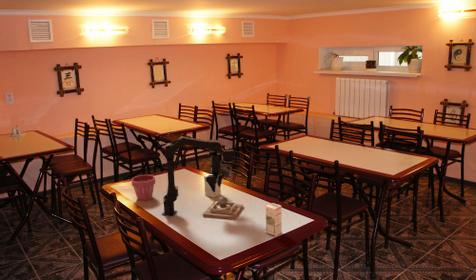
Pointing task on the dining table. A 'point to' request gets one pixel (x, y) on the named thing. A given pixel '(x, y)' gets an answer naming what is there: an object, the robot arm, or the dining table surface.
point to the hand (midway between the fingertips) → (216, 189)
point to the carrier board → (223, 211)
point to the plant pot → (143, 186)
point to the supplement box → (209, 191)
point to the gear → (223, 204)
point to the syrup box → (273, 219)
